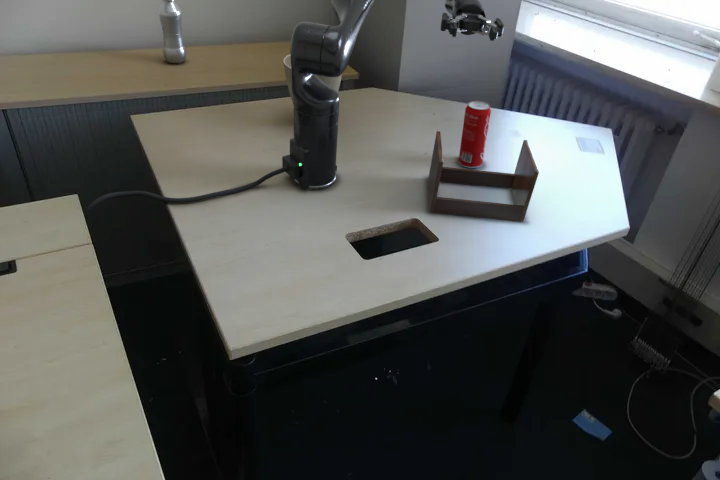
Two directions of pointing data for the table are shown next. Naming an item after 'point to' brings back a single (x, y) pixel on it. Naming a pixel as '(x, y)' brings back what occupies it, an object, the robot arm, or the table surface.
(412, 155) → the table surface
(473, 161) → the beverage can
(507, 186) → the walnut crate
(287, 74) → the plant pot
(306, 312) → the table surface
